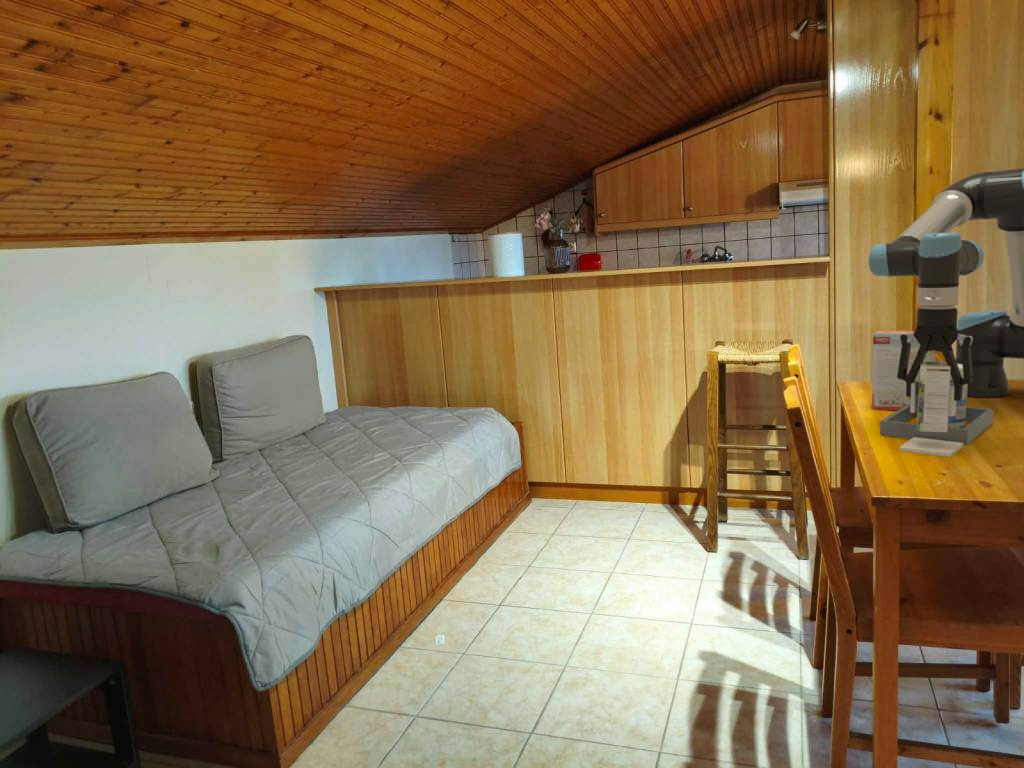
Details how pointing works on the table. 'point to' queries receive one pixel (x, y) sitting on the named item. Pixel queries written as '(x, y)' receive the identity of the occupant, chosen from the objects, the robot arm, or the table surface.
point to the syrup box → (933, 397)
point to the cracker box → (891, 370)
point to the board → (931, 447)
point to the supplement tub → (959, 405)
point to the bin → (899, 428)
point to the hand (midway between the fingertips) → (932, 413)
